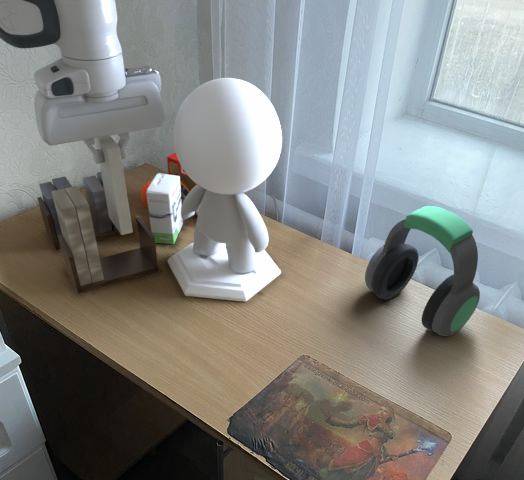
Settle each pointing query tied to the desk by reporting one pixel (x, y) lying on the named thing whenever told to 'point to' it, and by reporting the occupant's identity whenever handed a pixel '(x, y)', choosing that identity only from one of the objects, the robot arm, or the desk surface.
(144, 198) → the clementine
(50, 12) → the robot arm
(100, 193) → the grey book rack
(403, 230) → the headphones
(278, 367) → the desk surface
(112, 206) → the white book
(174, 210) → the ink box
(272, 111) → the big headed doll
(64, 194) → the brown book rack
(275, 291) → the desk surface
